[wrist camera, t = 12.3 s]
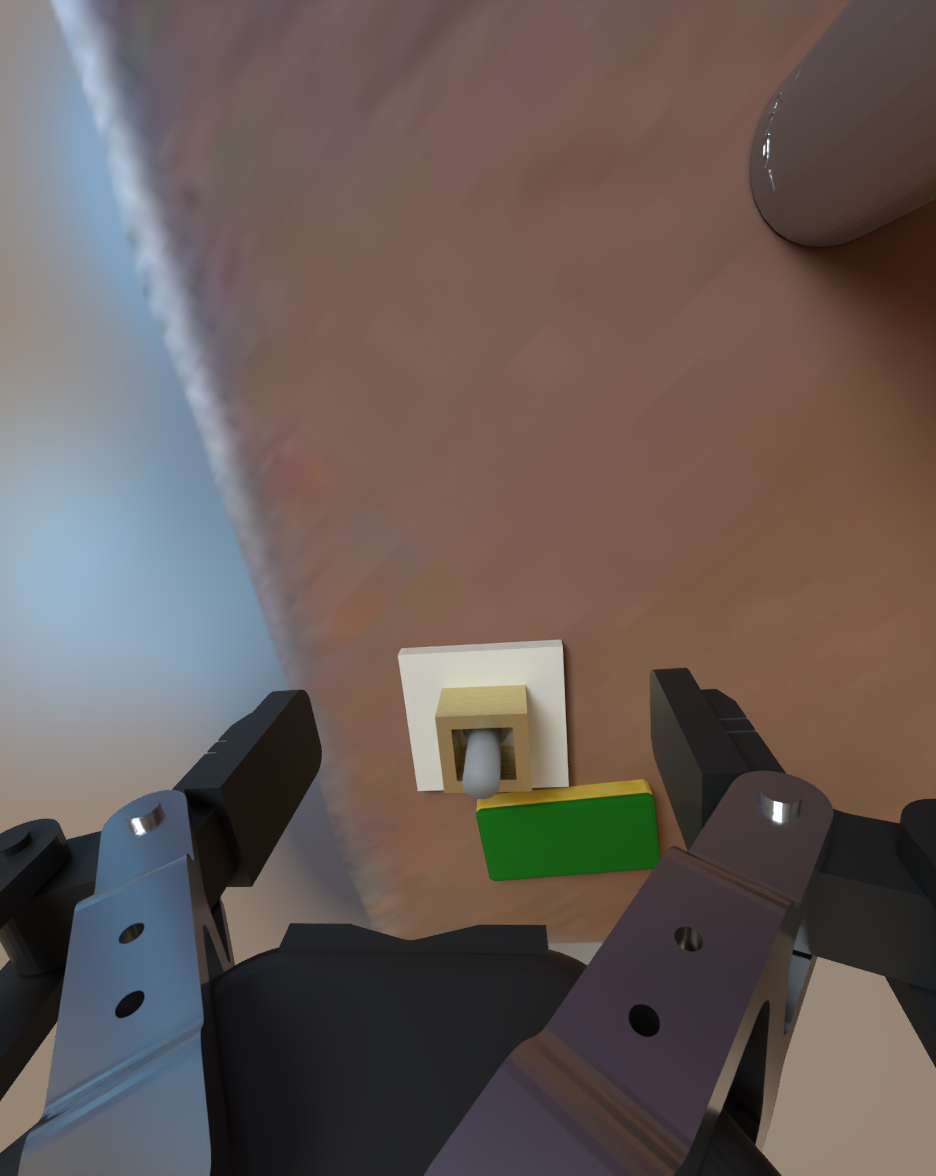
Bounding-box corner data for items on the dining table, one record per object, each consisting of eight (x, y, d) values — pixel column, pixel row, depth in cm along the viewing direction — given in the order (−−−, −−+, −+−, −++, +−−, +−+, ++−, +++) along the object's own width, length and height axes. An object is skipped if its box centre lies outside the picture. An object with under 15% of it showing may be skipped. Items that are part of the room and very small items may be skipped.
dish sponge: (477, 792, 44) (475, 813, 42) (646, 775, 43) (654, 796, 40) (491, 859, 46) (490, 882, 44) (653, 845, 45) (661, 869, 42)
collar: (525, 684, 39) (526, 713, 35) (529, 756, 41) (532, 791, 37) (442, 688, 40) (435, 717, 36) (450, 758, 42) (444, 793, 38)
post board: (561, 639, 39) (573, 695, 31) (567, 776, 43) (579, 857, 35) (401, 648, 40) (374, 704, 32) (420, 781, 44) (401, 860, 36)
